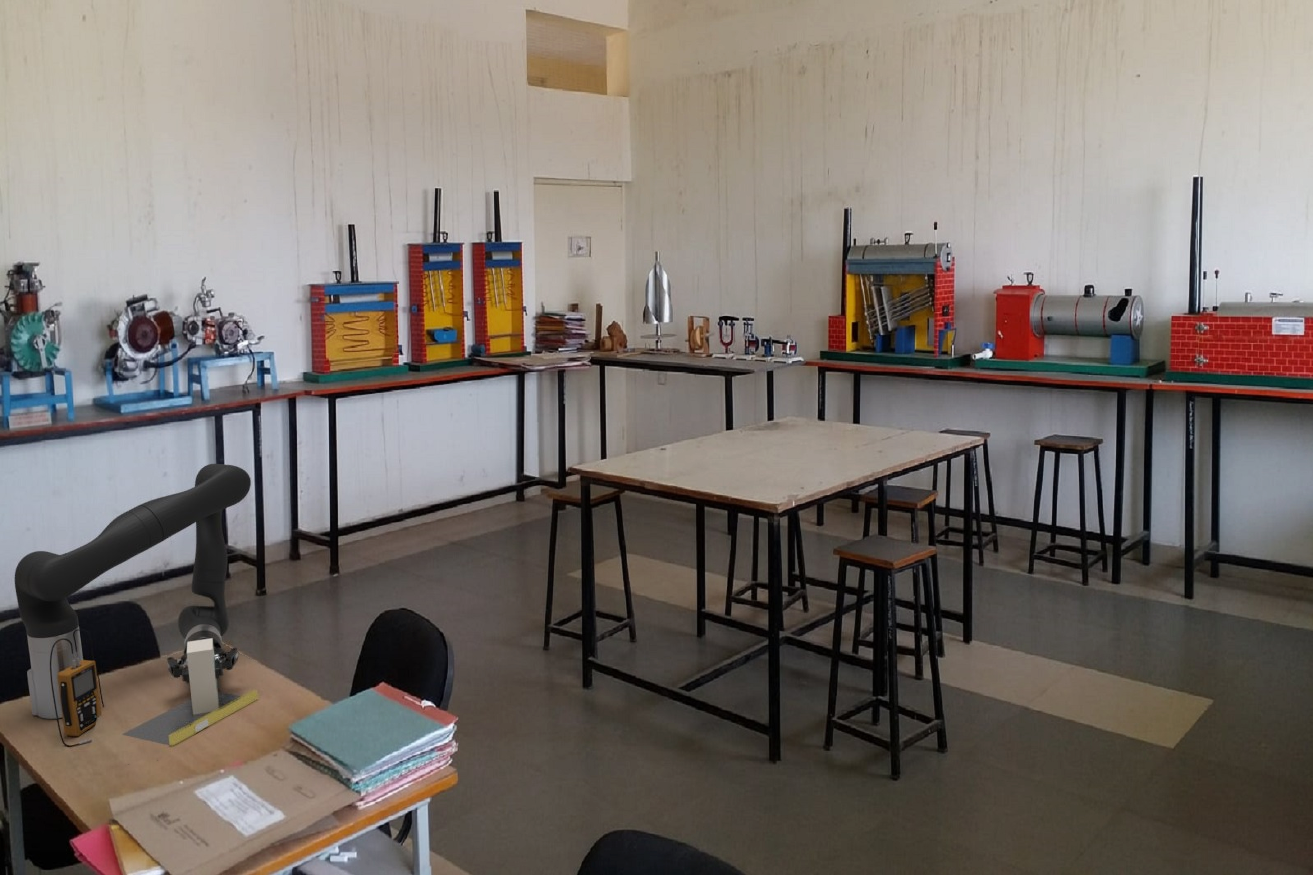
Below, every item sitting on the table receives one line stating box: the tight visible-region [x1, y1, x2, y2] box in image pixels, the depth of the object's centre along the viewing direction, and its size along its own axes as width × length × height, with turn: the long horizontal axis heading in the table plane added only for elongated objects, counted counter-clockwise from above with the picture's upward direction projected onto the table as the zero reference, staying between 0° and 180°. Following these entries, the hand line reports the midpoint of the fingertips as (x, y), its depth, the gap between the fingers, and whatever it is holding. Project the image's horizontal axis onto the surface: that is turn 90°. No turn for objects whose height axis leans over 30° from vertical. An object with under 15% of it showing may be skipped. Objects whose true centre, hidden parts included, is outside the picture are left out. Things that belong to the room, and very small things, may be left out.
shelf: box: [122, 689, 259, 747], centre depth 213 cm, size 13×22×4 cm, turn 157°
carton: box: [187, 638, 219, 715], centre depth 216 cm, size 5×6×13 cm
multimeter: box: [50, 628, 105, 748], centre depth 209 cm, size 15×10×20 cm
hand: (202, 676), depth 213 cm, fingers closed on carton, 4 cm apart
